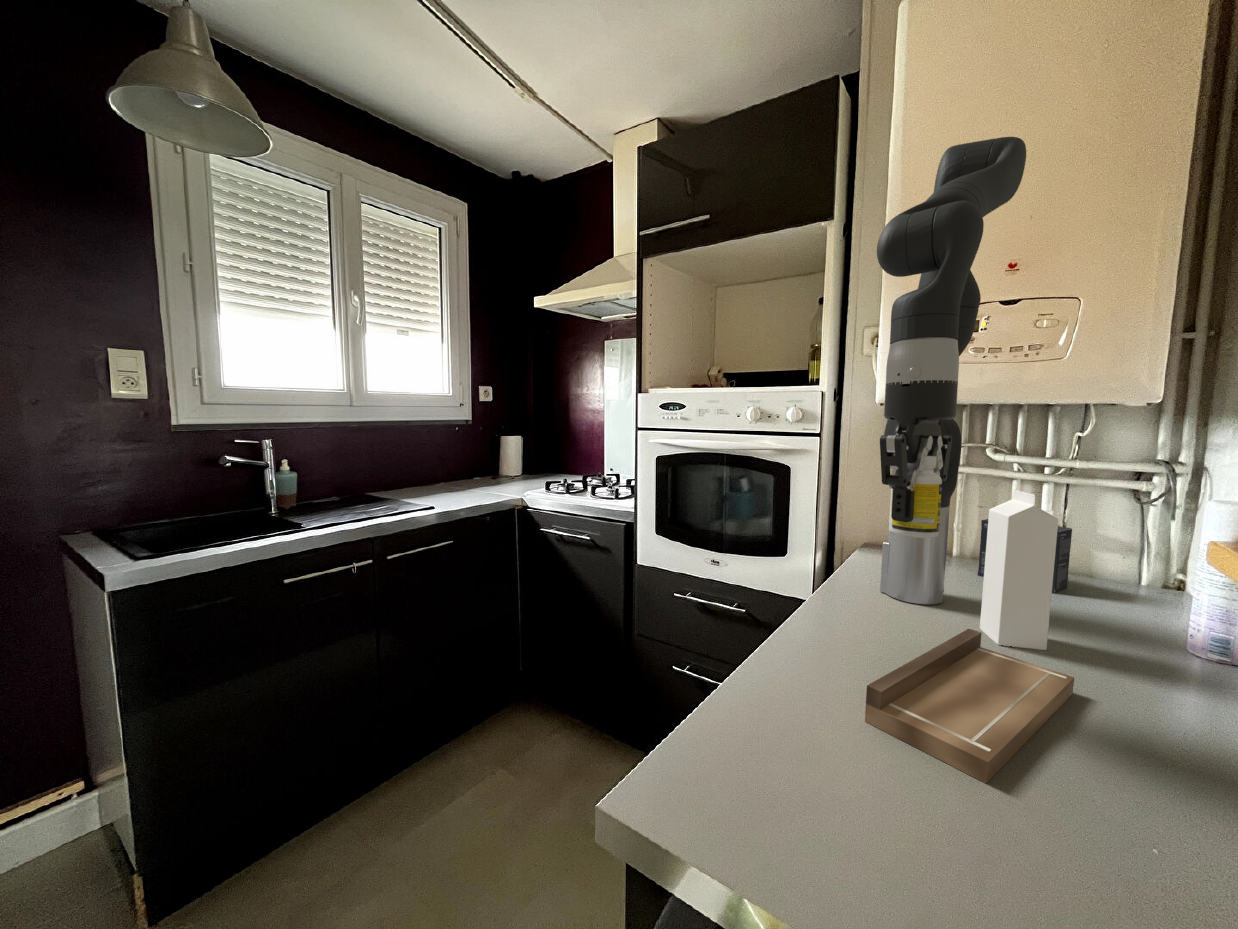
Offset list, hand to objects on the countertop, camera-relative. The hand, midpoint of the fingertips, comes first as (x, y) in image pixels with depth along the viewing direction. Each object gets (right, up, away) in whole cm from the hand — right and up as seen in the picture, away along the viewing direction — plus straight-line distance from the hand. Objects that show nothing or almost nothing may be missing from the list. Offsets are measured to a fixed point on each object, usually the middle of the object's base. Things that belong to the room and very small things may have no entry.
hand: (913, 518), depth 62 cm
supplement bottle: (0, -2, 0) cm, 2 cm away
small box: (+45, -17, +39) cm, 62 cm away
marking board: (+4, -21, -6) cm, 22 cm away
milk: (+22, -19, +12) cm, 32 cm away
